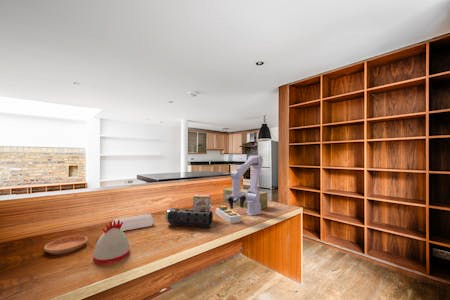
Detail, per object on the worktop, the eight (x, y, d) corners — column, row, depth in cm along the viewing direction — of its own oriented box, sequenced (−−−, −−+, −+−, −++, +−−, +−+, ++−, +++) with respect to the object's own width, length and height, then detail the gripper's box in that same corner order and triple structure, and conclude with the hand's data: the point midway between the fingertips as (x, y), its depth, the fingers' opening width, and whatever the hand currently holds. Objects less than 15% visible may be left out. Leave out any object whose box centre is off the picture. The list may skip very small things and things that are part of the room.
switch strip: (225, 212, 151) (225, 207, 151) (240, 221, 130) (240, 215, 130) (215, 213, 148) (215, 208, 148) (230, 223, 126) (230, 217, 126)
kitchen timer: (134, 254, 87) (135, 220, 87) (99, 268, 77) (100, 229, 77) (122, 245, 96) (122, 214, 97) (89, 255, 86) (89, 221, 86)
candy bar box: (192, 220, 132) (193, 196, 132) (194, 218, 137) (194, 194, 137) (209, 221, 131) (209, 196, 131) (210, 218, 136) (210, 195, 136)
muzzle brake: (208, 231, 114) (208, 213, 115) (164, 227, 120) (164, 210, 120) (212, 225, 124) (213, 208, 124) (171, 222, 129) (172, 206, 129)
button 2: (233, 216, 135) (233, 211, 135) (236, 218, 131) (236, 213, 132) (227, 217, 133) (227, 212, 134) (230, 219, 130) (230, 214, 130)
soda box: (267, 207, 165) (267, 192, 166) (258, 211, 156) (258, 194, 156) (232, 200, 194) (232, 186, 194) (222, 202, 184) (222, 188, 184)
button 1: (224, 209, 148) (224, 205, 148) (227, 210, 144) (227, 206, 144) (219, 210, 146) (219, 205, 146) (221, 211, 142) (221, 207, 142)
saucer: (81, 238, 104) (82, 232, 105) (92, 247, 94) (92, 240, 94) (41, 249, 92) (41, 243, 92) (47, 261, 82) (48, 253, 82)
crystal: (152, 215, 130) (110, 222, 118) (154, 212, 125) (110, 219, 112) (153, 227, 127) (110, 235, 114) (155, 224, 122) (110, 232, 109)
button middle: (228, 213, 142) (228, 209, 142) (231, 215, 138) (231, 210, 138) (223, 214, 140) (223, 210, 140) (226, 216, 136) (226, 211, 136)
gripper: (229, 189, 128) (229, 210, 127) (248, 188, 134) (248, 208, 134) (225, 188, 134) (225, 208, 134) (243, 186, 140) (243, 205, 140)
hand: (236, 208), depth 134 cm, fingers open, 7 cm apart
